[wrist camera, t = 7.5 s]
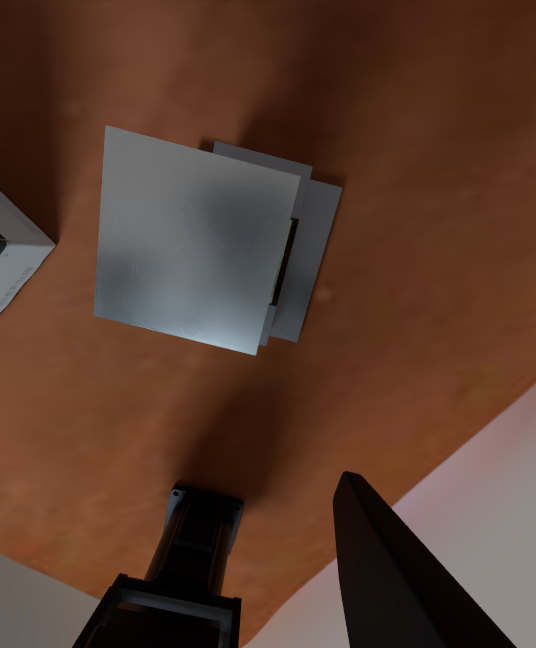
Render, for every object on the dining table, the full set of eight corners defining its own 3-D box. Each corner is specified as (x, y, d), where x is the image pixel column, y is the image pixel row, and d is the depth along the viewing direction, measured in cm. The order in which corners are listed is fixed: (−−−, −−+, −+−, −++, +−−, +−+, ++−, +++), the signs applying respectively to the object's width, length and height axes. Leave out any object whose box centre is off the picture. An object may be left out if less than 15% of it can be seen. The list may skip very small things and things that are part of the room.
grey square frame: (296, 338, 19) (300, 360, 15) (173, 307, 19) (144, 321, 15) (338, 191, 16) (358, 171, 12) (196, 154, 16) (168, 121, 12)
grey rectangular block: (271, 299, 15) (260, 362, 6) (199, 281, 15) (86, 319, 6) (291, 223, 14) (310, 170, 5) (213, 203, 14) (98, 114, 5)
